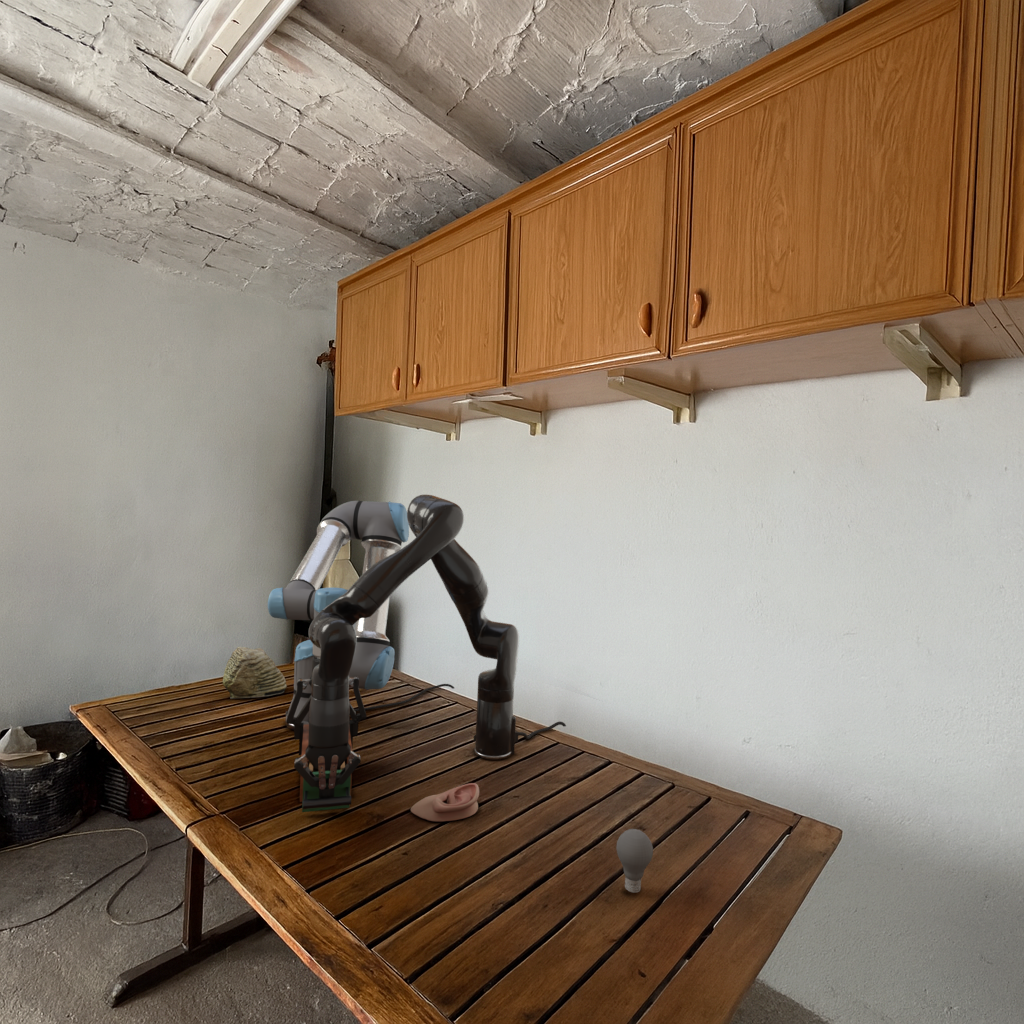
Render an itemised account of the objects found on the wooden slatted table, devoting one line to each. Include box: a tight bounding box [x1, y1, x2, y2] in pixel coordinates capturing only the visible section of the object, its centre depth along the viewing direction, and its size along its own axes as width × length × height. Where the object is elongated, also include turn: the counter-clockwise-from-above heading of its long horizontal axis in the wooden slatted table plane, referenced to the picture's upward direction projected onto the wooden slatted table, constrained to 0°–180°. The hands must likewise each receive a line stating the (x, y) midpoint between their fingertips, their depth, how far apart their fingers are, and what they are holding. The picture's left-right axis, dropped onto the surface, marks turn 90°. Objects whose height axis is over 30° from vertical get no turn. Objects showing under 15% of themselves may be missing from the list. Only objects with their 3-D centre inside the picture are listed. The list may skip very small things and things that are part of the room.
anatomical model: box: [410, 782, 480, 822], centre depth 131 cm, size 13×4×12 cm
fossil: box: [222, 646, 288, 699], centre depth 198 cm, size 9×18×15 cm, turn 132°
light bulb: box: [615, 828, 654, 894], centre depth 106 cm, size 6×6×10 cm
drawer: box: [301, 761, 352, 813], centre depth 132 cm, size 23×9×7 cm, turn 17°
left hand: (325, 751), depth 146 cm, fingers closed on cabinet, 10 cm apart
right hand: (326, 805), depth 123 cm, fingers closed
